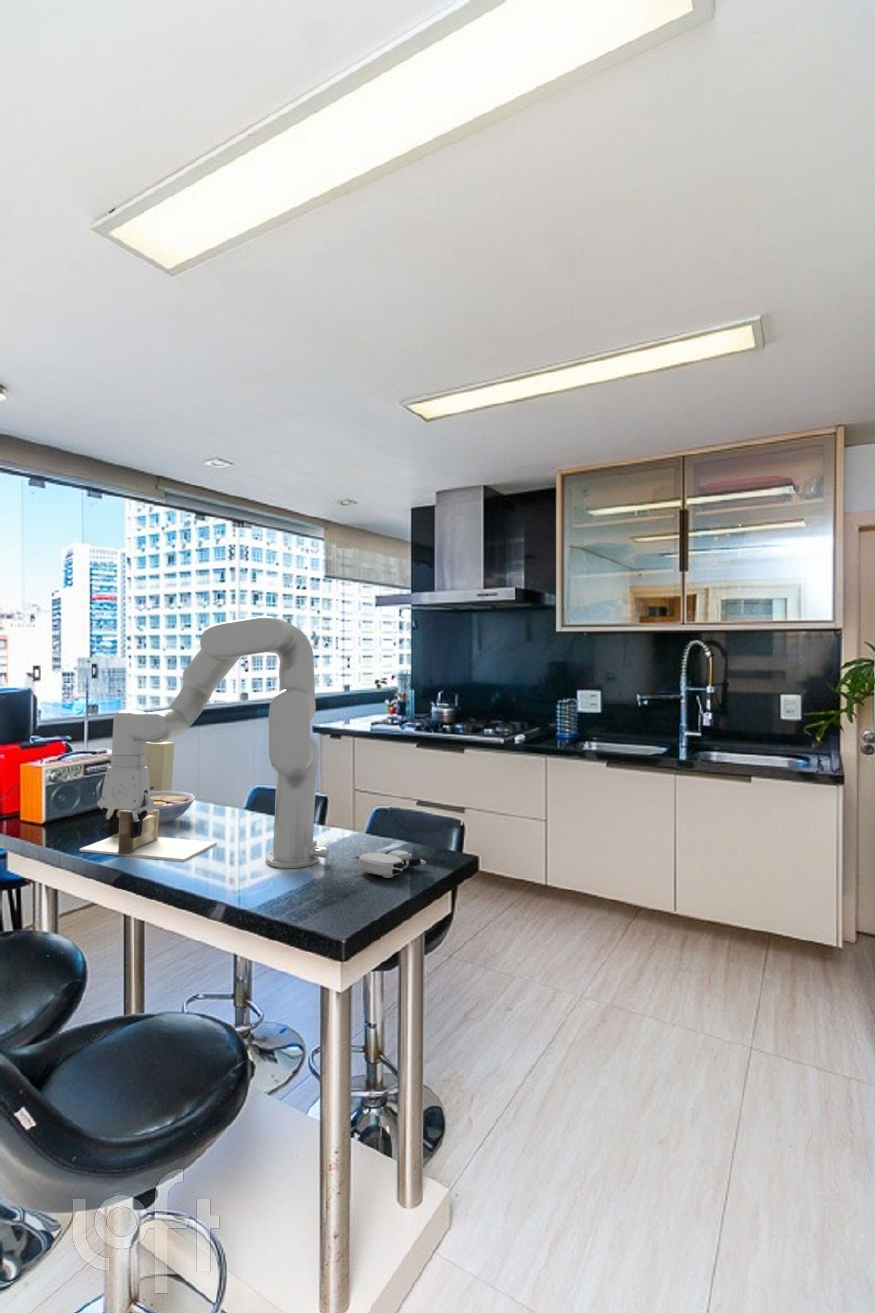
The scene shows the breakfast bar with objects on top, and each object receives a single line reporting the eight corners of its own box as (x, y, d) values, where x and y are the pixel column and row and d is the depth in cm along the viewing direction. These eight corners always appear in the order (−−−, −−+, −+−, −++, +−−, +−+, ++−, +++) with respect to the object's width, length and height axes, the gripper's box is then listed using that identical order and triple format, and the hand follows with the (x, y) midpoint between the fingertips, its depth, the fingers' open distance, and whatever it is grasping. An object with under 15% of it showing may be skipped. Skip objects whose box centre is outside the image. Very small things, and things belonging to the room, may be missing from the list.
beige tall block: (172, 805, 203) (175, 741, 204) (160, 809, 196) (163, 744, 196) (149, 803, 204) (153, 740, 204) (136, 808, 197) (140, 742, 197)
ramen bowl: (173, 836, 167) (175, 806, 167) (89, 833, 166) (91, 803, 167) (207, 815, 192) (208, 788, 192) (133, 812, 191) (135, 785, 192)
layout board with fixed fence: (216, 844, 161) (218, 812, 161) (181, 863, 145) (183, 827, 145) (119, 835, 165) (121, 804, 166) (75, 852, 150) (77, 817, 150)
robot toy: (389, 863, 155) (348, 873, 143) (390, 845, 155) (350, 853, 143) (428, 874, 148) (388, 885, 135) (429, 855, 148) (390, 864, 136)
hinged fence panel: (127, 854, 147) (129, 814, 147) (115, 853, 147) (117, 813, 147) (157, 840, 159) (159, 803, 159) (145, 839, 160) (147, 802, 160)
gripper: (86, 761, 147) (81, 837, 146) (151, 765, 144) (147, 843, 144) (107, 757, 154) (103, 829, 154) (169, 761, 152) (166, 835, 151)
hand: (124, 835), depth 149 cm, fingers open, 5 cm apart
